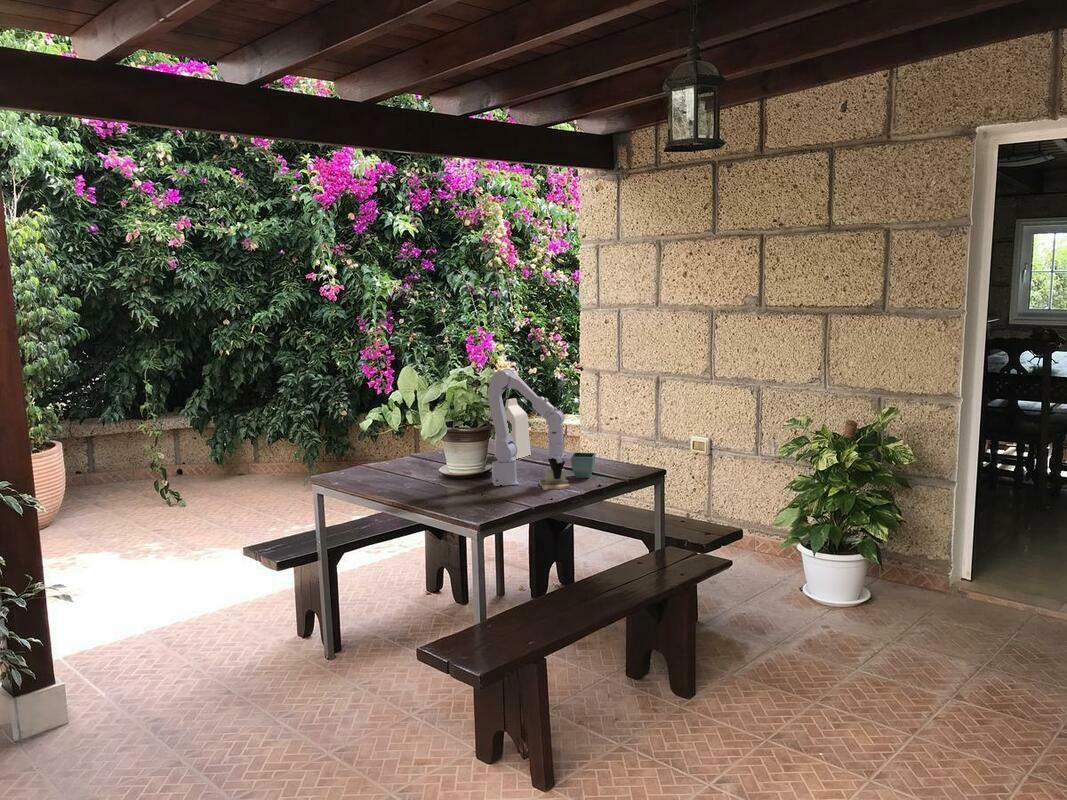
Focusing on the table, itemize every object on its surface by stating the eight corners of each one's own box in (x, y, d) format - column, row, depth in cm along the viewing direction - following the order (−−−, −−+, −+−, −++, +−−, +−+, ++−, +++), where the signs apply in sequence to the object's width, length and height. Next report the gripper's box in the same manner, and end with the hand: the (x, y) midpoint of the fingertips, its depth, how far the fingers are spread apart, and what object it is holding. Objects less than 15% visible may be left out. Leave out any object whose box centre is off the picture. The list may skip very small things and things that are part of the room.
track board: (543, 489, 322) (543, 484, 322) (538, 482, 334) (538, 477, 334) (570, 488, 324) (570, 482, 324) (564, 481, 336) (564, 475, 335)
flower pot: (593, 479, 338) (592, 457, 337) (570, 479, 340) (570, 456, 338) (596, 474, 346) (595, 452, 345) (574, 474, 348) (573, 452, 347)
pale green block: (546, 484, 327) (546, 471, 327) (545, 482, 330) (545, 469, 329) (564, 483, 328) (564, 470, 328) (563, 481, 331) (563, 468, 330)
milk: (516, 460, 379) (515, 401, 375) (494, 458, 385) (493, 400, 381) (530, 455, 389) (529, 398, 385) (509, 453, 395) (508, 396, 391)
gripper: (570, 445, 321) (570, 481, 322) (562, 438, 335) (563, 473, 337) (551, 446, 320) (552, 482, 321) (544, 439, 334) (545, 474, 336)
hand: (556, 477), depth 329 cm, fingers closed on pale green block, 2 cm apart
